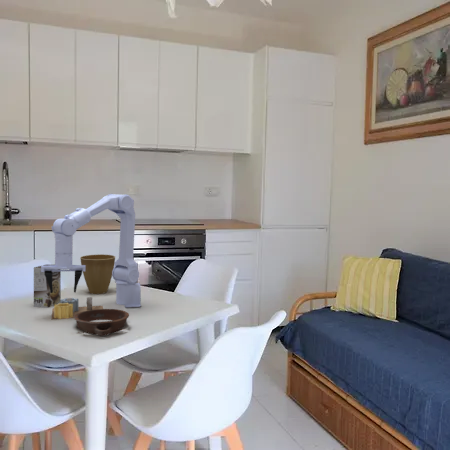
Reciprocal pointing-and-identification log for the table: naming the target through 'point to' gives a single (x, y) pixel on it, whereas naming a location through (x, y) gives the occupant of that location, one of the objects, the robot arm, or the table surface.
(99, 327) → the dish
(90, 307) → the gear board
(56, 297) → the coffee box
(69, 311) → the ochre gear
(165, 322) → the table surface
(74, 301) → the slate gear
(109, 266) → the plant pot
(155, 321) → the table surface
